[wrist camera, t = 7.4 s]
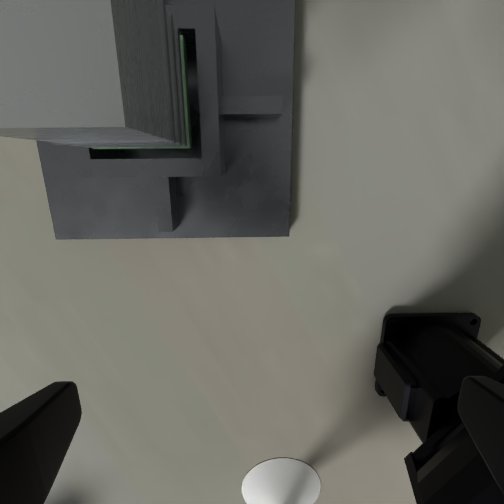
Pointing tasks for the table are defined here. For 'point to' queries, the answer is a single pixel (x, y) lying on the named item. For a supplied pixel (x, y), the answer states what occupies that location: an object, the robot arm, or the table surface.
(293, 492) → the champagne flute
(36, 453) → the robot arm
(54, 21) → the block
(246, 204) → the jack base
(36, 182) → the table surface
